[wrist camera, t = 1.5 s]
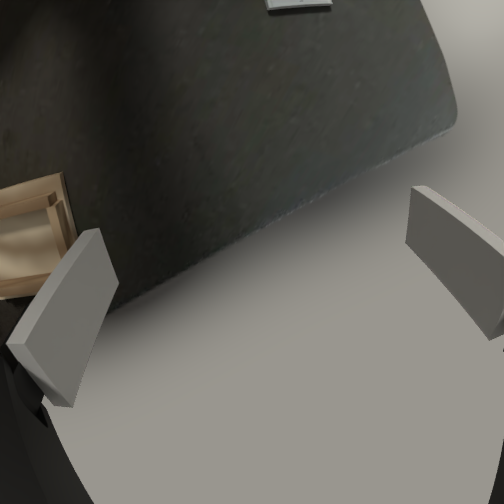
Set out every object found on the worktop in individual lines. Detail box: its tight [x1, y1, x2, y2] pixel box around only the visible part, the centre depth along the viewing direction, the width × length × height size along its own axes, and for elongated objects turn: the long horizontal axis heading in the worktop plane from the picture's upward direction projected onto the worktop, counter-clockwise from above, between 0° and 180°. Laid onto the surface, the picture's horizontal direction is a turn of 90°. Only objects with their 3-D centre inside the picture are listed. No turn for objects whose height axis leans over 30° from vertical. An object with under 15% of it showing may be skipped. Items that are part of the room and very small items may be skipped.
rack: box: [0, 172, 78, 300], centre depth 31 cm, size 15×16×4 cm
